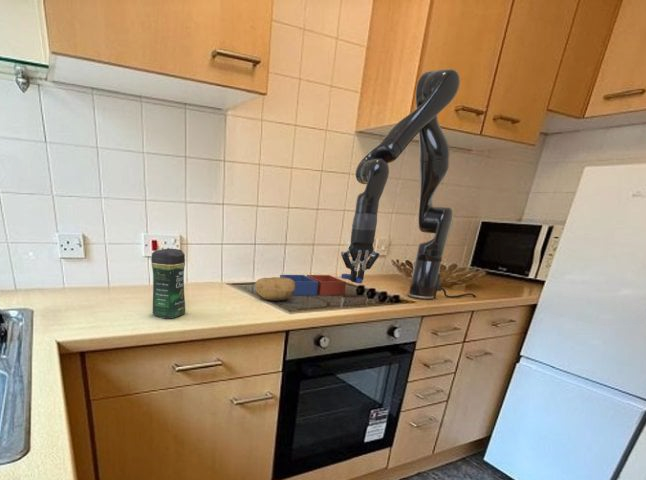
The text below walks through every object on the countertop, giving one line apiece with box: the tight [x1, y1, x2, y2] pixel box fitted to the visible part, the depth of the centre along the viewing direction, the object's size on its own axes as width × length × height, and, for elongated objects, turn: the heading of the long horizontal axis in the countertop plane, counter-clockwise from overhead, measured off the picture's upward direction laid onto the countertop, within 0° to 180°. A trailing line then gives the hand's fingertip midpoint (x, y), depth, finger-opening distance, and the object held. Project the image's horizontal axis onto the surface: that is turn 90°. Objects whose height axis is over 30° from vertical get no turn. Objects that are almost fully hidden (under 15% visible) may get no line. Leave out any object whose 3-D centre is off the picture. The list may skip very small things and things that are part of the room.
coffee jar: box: [150, 248, 186, 319], centre depth 114 cm, size 10×8×19 cm
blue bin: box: [279, 274, 318, 296], centre depth 159 cm, size 10×15×5 cm
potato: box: [254, 276, 296, 302], centre depth 140 cm, size 10×14×8 cm
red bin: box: [306, 274, 347, 296], centre depth 161 cm, size 10×15×5 cm
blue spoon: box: [340, 273, 363, 284], centre depth 140 cm, size 12×4×1 cm, turn 14°
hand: (356, 281), depth 138 cm, fingers closed on blue spoon, 1 cm apart
